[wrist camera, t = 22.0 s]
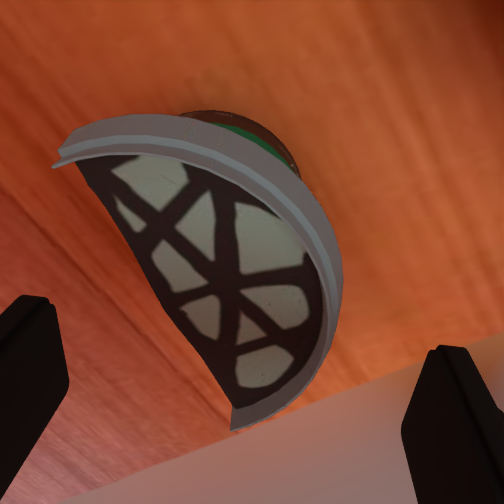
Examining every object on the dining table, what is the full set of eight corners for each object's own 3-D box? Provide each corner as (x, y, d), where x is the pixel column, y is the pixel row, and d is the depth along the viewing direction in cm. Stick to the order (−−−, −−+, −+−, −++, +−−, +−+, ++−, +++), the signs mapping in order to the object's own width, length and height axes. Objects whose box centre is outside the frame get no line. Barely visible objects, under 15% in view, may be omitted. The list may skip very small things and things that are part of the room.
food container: (358, 259, 23) (396, 406, 14) (256, 292, 25) (236, 441, 16) (272, 29, 18) (252, 42, 9) (151, 89, 20) (38, 148, 11)
